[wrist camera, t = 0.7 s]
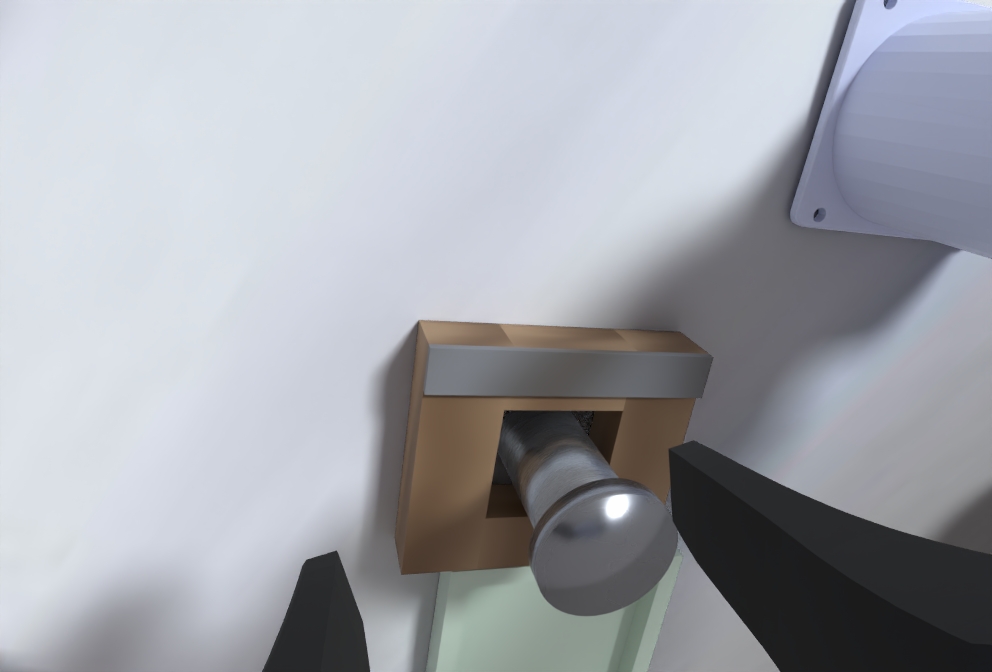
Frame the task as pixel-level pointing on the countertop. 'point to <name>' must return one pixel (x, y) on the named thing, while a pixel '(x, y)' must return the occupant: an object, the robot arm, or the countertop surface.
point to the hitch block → (528, 386)
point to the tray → (538, 626)
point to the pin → (583, 516)
